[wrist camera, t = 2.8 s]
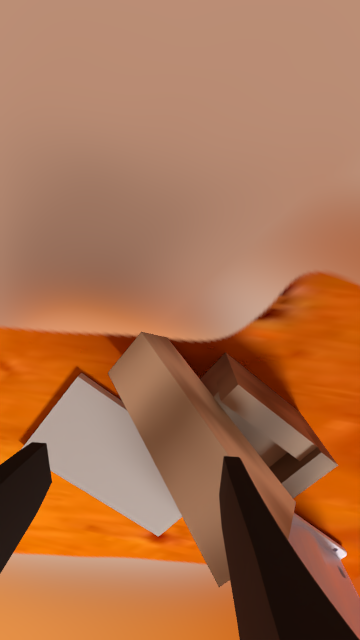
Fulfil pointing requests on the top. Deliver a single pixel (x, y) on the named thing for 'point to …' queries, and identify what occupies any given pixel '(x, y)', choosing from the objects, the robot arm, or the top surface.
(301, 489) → the holder
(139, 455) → the mat
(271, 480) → the bar
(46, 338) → the top surface
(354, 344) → the top surface
